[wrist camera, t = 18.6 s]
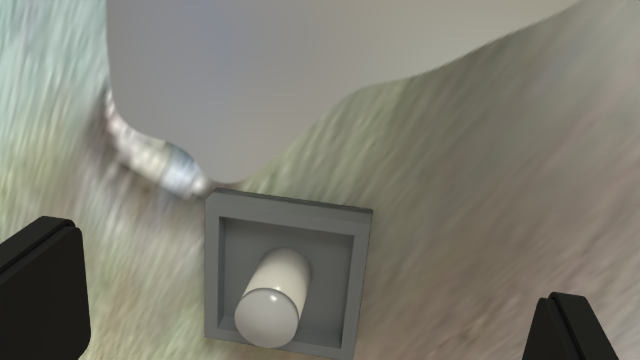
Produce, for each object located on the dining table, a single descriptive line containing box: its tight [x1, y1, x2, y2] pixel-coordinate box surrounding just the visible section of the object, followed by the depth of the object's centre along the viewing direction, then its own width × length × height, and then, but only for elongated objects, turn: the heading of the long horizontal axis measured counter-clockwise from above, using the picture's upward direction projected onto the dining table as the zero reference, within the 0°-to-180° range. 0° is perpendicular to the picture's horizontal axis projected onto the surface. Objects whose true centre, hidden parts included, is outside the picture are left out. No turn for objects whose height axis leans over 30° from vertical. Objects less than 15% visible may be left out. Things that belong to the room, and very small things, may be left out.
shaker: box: [235, 248, 313, 348], centre depth 46 cm, size 5×5×8 cm
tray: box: [205, 188, 373, 360], centre depth 49 cm, size 14×14×3 cm
